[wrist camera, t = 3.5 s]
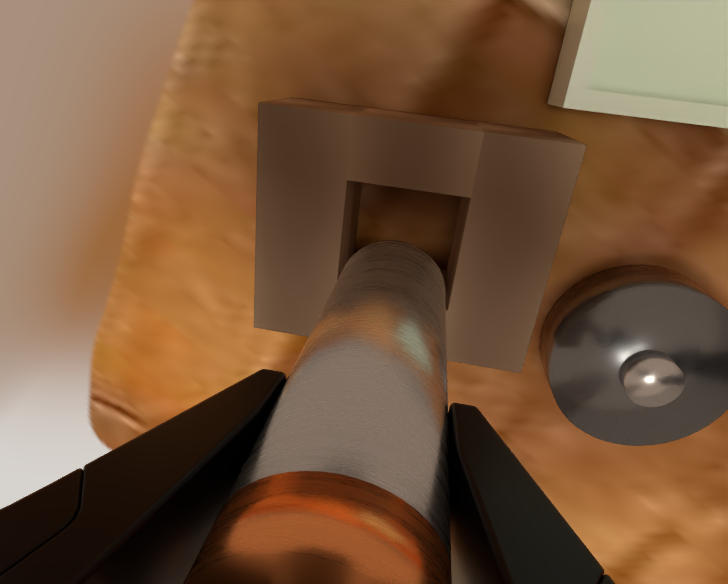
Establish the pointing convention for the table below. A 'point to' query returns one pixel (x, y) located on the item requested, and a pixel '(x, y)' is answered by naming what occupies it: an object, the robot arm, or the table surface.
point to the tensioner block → (417, 172)
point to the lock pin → (351, 444)
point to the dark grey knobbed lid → (637, 355)
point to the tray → (646, 60)
